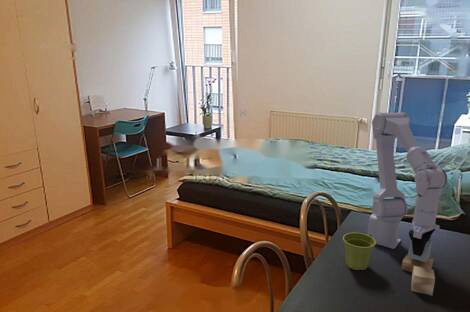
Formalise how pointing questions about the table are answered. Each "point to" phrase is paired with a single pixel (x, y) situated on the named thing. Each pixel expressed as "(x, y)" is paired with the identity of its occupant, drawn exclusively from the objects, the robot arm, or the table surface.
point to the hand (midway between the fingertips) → (419, 251)
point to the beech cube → (423, 280)
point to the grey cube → (424, 255)
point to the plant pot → (358, 250)
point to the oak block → (415, 264)
